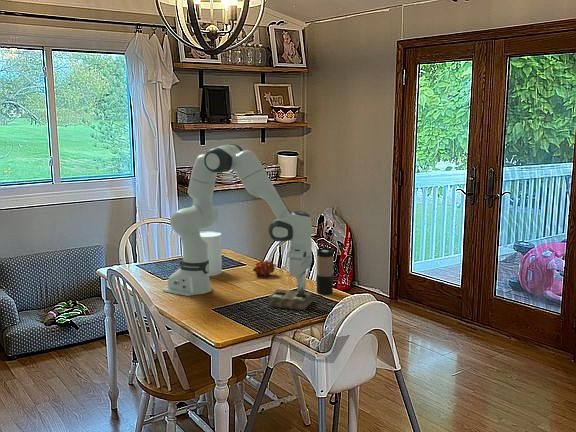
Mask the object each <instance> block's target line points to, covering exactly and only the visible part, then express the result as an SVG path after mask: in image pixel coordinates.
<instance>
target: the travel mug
mask: <svg viewBox="0 0 576 432" xmlns="http://www.w3.org/2000/svg"><path fill="white" fill-rule="evenodd" d="M334 254H335V253H334V249H332V248H328V247H321V248H317V250H316V293H317V294H318V295H321V296H329V295H332V294H333V290H334V287H333V286H334V258H335V257H334Z"/></svg>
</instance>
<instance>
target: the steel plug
mask: <svg viewBox="0 0 576 432" xmlns="http://www.w3.org/2000/svg"><path fill="white" fill-rule="evenodd" d="M301 279H302V283H301V284H298V283H297V282H296V283H297V290H296V291H297V293H298V294H305V292H306V275H305V271H304V272H303V273H302V276H301Z"/></svg>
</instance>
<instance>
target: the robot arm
mask: <svg viewBox="0 0 576 432" xmlns="http://www.w3.org/2000/svg"><path fill="white" fill-rule="evenodd" d="M229 171H234V172H235V173H236V174H237V176H238V177H239V180H240V182H241V184H242V186H243V187H244V189H245V190H246V191H247V192H248V194H249V195H251V196H253V197H257V198H260V199H262V200H264V201H265V202H266V203H267V204H268V206H269V208H270V210H271V211H272V212H273V214H274V216H275V217H276V219H274V220H273V221H272V222H271V223H270V224H269V226H268V230H267V231H268V235H269V237H270V238H271V239H272V240H273V241H275V242H280V243H281V242H288V241H289V242H290V248H289V251H288V254H287V256H288V257H287V258H289V260H288V264H289V275H290V277H292V278H294V277H295V278H296V283H298V284H301V283H302V279H301V276H302V273H303V272H304V271H305V276H306V274H307V270H308V269H309V268H310V267H311V265H312V254H313V253H312V246H313V245H312V244H313V243H312V233H313V230H312V229H313V228H312V227H313V226H312V225H313V224H312V217H311V215H310V214H309V213H307V212H305V211H302V210H294V211H292V212H291V210H290V209H289V208H288V206H287V205H286V203H285V201H284V199H283V198H282V197H281V195H280V193H279V191H278V190H277V189H276V187H275V186H274V184H273V183H272V181H271V179H270V178H269V175H268V174H267V171H266V170H265V167H264V166H263V165H262V162H261V161H260V160H259V159H258V157H257V155H256V154H255V152H253V151H252V150H249V149H246V150H244V149H243V148H242V147H241V146H240V145H238V144H234V143H229V144H221V145H220V146H217V147H213V148H211V149H209V150H208V151H207V152H206V153H202V154H199V155H198V156H197V157H196V158H195V160H194V164H193V167H192V169H191V173H190V179H189V184H188V188H187V194H188V196H189V197H190V198H191V199H192V204H191V206H190V207H189V206H188V207H184V208H181V209H178V210H177V211H174V212H173V213H172V214H171V216H170V220H169V221H170V223H169V224H170V227H171V229H172V230H173V231H174V232H175V233H176V234H177V235H178V236H179V239H180V240H181V244H182V256H183V258H182V260H181V261H179V262H178V266H180V267H179V268H178V269H177V270H175V271H174V272H173V273H171V275H170V276H169V277H168V280H167V284H166V285H164V286H163V288H162V292H165V293H170V294H176V295H180V296H186V297H191V296H196V295H204V294H207V293H210V292H212V291H213V287H212V284H211V280H210V276H209V260H208V245H207V242H206V241H205V240H203V239H202V238H201V236H200V232H201V230H205V229H209V228H211V227H212V226H214V225H216V223H218V220H219V213H218V210H217V208H216V207H215V206H214V202H213V199H214V198H213V197H214V195H213V194H214V190H215V187H216V186H215V185H216V180H217V177H218V176H217V175H218V174H221V173H224V172H229Z"/></svg>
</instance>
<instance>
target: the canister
mask: <svg viewBox="0 0 576 432" xmlns="http://www.w3.org/2000/svg"><path fill="white" fill-rule="evenodd" d="M200 236H201V238H202V239H203V240H205V241H206V242H207V245H208V260H209V277H212V276H218V275H221V274H222V272H223V271H222V270H223V269H222V267H223V263H222V262H223V261H222V233H221V232H218V231H200Z"/></svg>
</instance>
